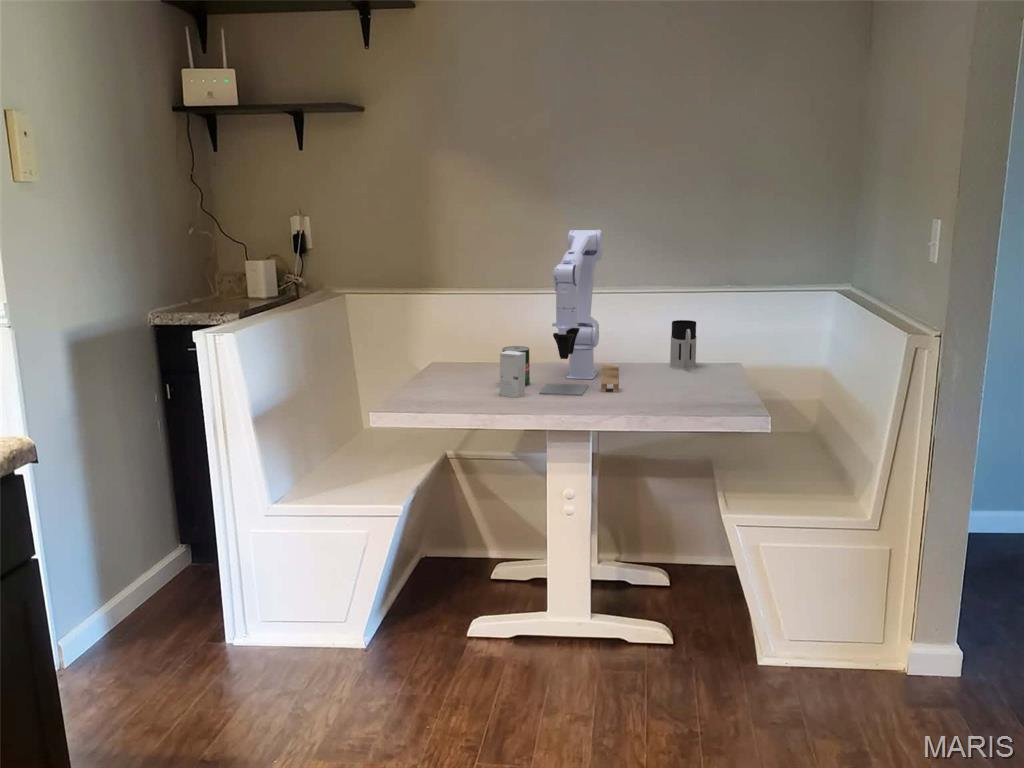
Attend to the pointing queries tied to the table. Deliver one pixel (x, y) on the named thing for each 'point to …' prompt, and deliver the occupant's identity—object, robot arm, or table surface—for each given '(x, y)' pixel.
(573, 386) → the slate mat
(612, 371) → the notched wooden block
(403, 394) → the table surface
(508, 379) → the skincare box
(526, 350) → the canned tomato
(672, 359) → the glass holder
